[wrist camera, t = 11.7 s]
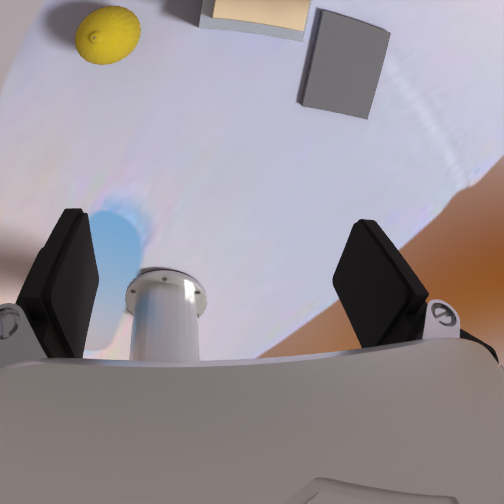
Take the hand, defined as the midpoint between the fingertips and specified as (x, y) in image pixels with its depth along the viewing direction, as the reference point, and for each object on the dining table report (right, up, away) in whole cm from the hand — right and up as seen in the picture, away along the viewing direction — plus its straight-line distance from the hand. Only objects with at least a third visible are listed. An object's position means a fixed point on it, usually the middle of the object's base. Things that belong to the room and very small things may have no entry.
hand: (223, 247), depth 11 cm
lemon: (-12, +21, +12) cm, 27 cm away
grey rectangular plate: (+11, +20, +17) cm, 28 cm away
